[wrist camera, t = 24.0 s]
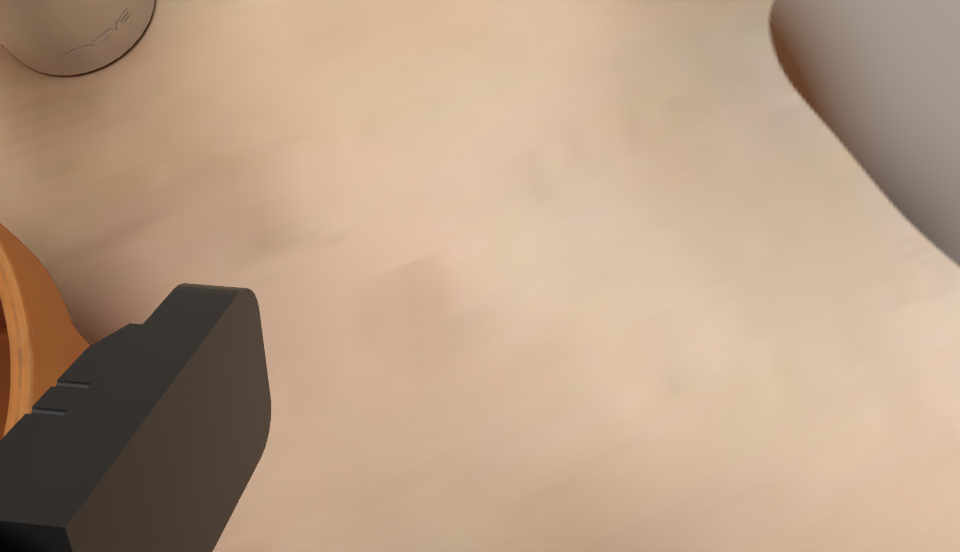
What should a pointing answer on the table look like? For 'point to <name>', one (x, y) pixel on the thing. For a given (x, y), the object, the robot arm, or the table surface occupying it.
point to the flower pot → (30, 331)
